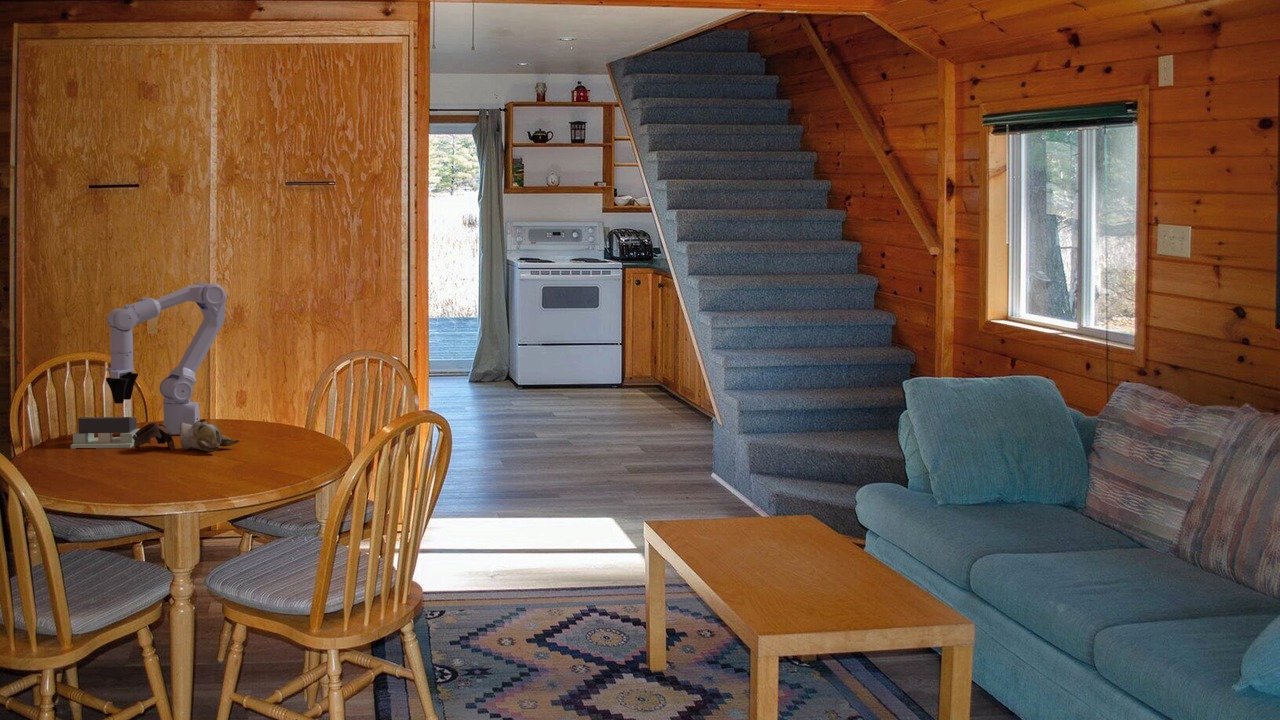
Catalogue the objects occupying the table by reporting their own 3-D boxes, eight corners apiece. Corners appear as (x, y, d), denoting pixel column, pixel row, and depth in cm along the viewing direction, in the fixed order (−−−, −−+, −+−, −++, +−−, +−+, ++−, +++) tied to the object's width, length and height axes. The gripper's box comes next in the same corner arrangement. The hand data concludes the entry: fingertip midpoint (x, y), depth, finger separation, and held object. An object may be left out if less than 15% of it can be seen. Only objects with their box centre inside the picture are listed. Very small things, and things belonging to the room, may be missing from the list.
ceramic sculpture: (193, 412, 332) (241, 419, 328) (192, 444, 333) (240, 451, 329) (167, 419, 322) (217, 426, 318) (167, 451, 323) (216, 459, 319)
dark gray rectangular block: (136, 428, 337) (136, 413, 337) (129, 432, 330) (129, 418, 330) (86, 428, 335) (86, 414, 335) (78, 433, 328) (78, 418, 328)
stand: (141, 440, 338) (140, 427, 338) (130, 448, 327) (129, 435, 327) (83, 441, 336) (83, 428, 336) (70, 448, 325) (70, 435, 325)
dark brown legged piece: (174, 454, 323) (156, 429, 319) (142, 469, 323) (124, 444, 320) (183, 434, 334) (166, 410, 331) (152, 449, 334) (135, 425, 331)
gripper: (114, 349, 345) (115, 397, 346) (98, 354, 330) (99, 405, 332) (140, 349, 345) (141, 397, 347) (126, 355, 331) (127, 405, 333)
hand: (122, 401), depth 339 cm, fingers open, 7 cm apart
